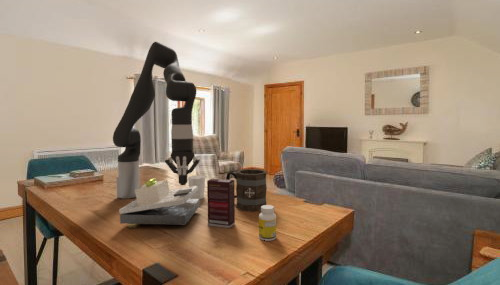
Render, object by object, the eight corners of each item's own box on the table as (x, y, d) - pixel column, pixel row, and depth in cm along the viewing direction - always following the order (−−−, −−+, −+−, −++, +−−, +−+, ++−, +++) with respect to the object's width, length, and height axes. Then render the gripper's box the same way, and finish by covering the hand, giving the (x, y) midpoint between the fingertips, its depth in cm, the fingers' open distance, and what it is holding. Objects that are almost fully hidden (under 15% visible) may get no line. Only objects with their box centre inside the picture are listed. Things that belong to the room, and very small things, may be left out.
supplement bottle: (257, 234, 87) (257, 204, 86) (274, 233, 88) (274, 204, 87) (259, 241, 82) (260, 209, 81) (277, 241, 82) (277, 209, 82)
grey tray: (120, 229, 91) (120, 214, 91) (146, 210, 111) (145, 198, 111) (185, 230, 90) (185, 215, 90) (199, 211, 110) (199, 199, 110)
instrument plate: (120, 213, 91) (115, 189, 90) (145, 197, 111) (141, 177, 110) (184, 203, 89) (179, 179, 89) (198, 189, 109) (194, 168, 109)
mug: (272, 204, 119) (273, 170, 118) (257, 213, 107) (257, 176, 106) (235, 198, 129) (235, 167, 128) (217, 205, 117) (217, 171, 116)
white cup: (207, 195, 134) (206, 175, 133) (202, 200, 126) (202, 178, 125) (191, 195, 134) (191, 175, 134) (186, 199, 127) (185, 178, 126)
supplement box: (235, 223, 96) (235, 179, 95) (229, 228, 92) (229, 182, 91) (213, 220, 99) (213, 177, 98) (207, 225, 95) (206, 180, 93)
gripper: (160, 137, 95) (161, 187, 96) (197, 137, 94) (198, 187, 95) (167, 136, 102) (168, 182, 103) (202, 136, 102) (203, 182, 103)
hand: (183, 184), depth 99 cm, fingers closed
